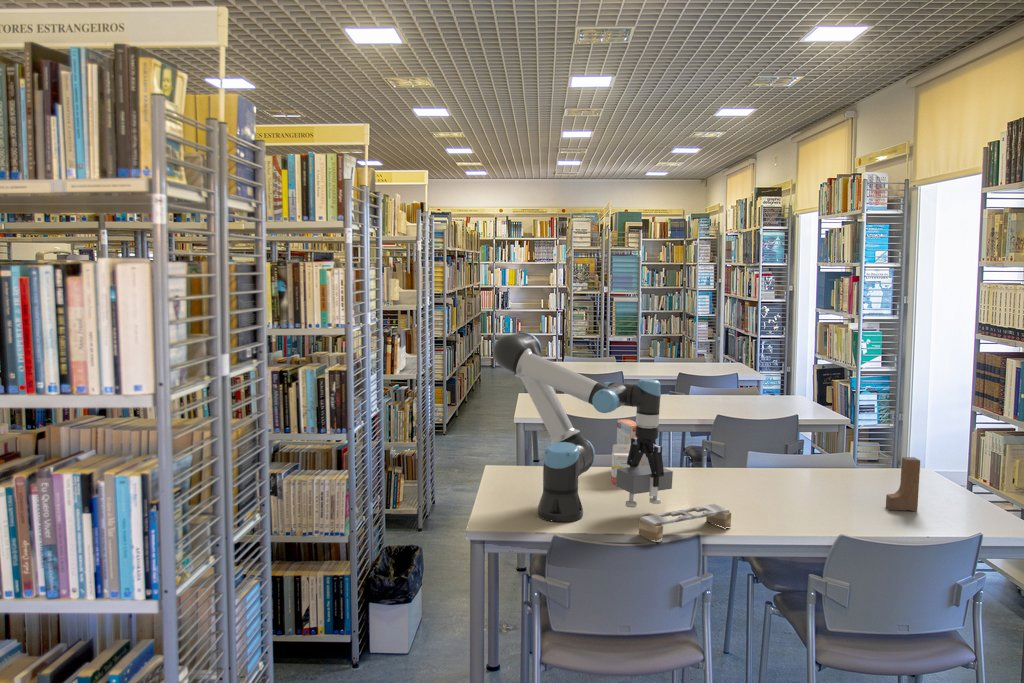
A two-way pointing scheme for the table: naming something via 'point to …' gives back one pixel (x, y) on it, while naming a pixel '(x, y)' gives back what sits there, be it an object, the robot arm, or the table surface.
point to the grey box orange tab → (641, 482)
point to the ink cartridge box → (619, 460)
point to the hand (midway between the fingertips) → (643, 491)
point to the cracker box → (626, 433)
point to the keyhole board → (682, 519)
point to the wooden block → (906, 487)
